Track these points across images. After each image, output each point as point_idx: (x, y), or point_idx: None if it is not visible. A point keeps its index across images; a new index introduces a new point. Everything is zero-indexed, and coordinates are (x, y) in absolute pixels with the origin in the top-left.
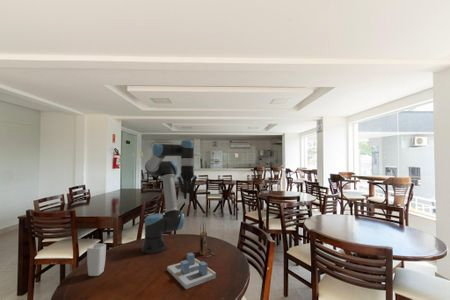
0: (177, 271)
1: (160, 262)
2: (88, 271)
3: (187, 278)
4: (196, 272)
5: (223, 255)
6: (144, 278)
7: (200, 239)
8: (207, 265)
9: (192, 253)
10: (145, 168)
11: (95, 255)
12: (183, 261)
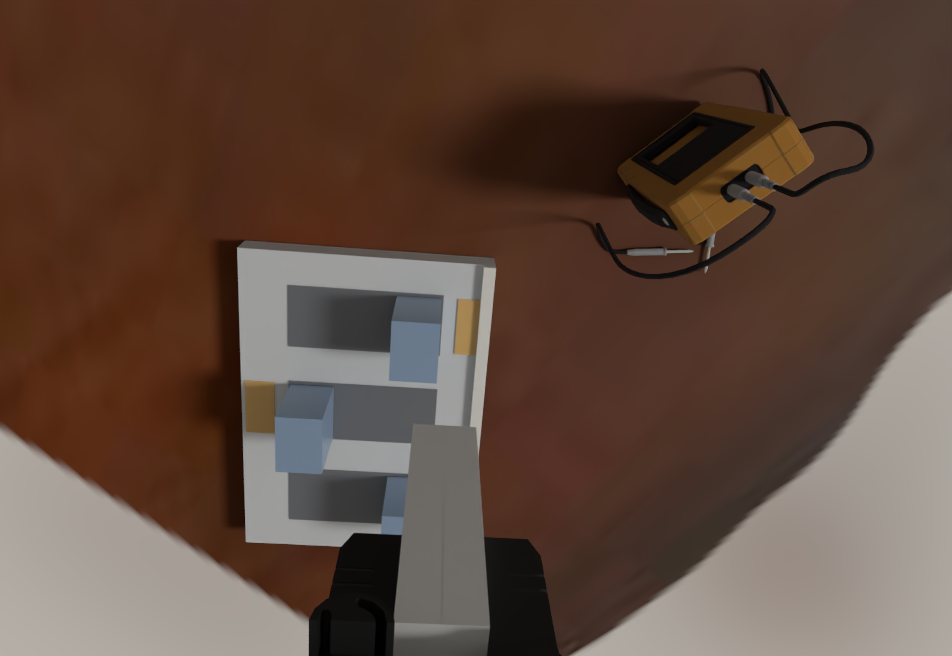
0: (271, 370)
1: (245, 61)
2: None
3: (288, 488)
4: (378, 463)
5: (759, 315)
6: (52, 245)
7: (656, 202)
8: None
9: (436, 349)
10: None
11: None
12: (294, 431)
